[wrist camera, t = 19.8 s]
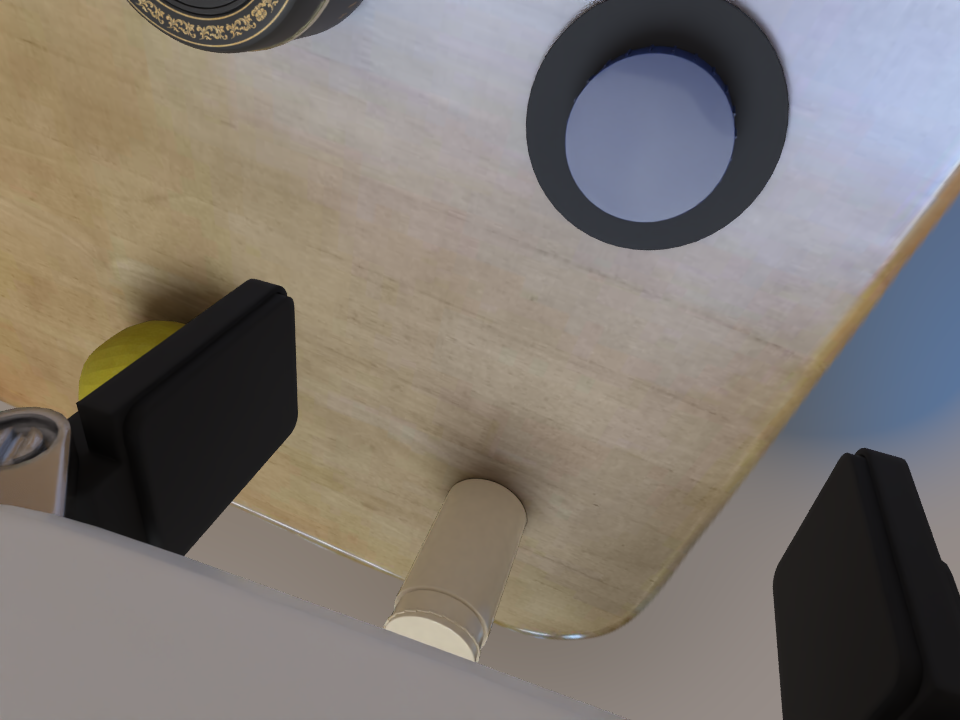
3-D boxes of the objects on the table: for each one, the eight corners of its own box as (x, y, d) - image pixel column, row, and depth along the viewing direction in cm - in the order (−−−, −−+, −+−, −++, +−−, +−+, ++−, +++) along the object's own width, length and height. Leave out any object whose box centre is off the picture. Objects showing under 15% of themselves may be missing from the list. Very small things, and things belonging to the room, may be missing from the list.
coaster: (833, 11, 25) (835, 12, 25) (734, 270, 32) (735, 275, 31) (552, -37, 27) (550, -36, 27) (511, 217, 33) (508, 220, 33)
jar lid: (606, 19, 27) (599, 24, 26) (768, 79, 27) (770, 87, 25) (550, 176, 31) (541, 189, 30) (690, 231, 31) (688, 247, 29)
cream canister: (533, 493, 43) (484, 636, 34) (519, 551, 46) (471, 696, 37) (450, 467, 44) (382, 600, 35) (442, 526, 47) (378, 661, 38)
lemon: (171, 407, 49) (87, 479, 42) (114, 313, 46) (13, 375, 39) (289, 393, 44) (215, 470, 38) (235, 287, 41) (145, 352, 35)
